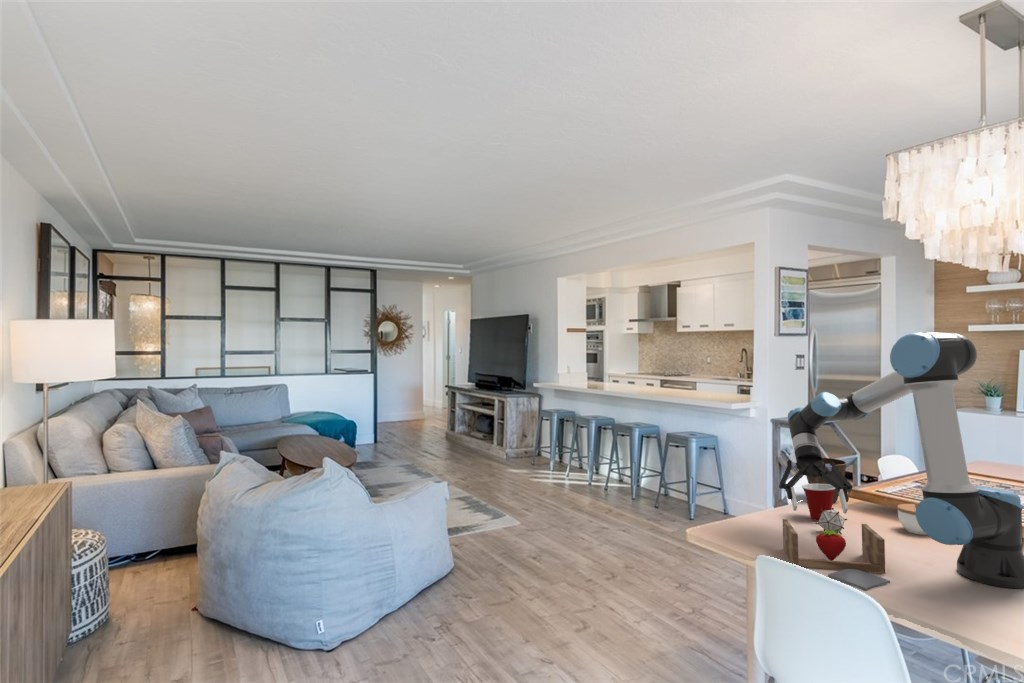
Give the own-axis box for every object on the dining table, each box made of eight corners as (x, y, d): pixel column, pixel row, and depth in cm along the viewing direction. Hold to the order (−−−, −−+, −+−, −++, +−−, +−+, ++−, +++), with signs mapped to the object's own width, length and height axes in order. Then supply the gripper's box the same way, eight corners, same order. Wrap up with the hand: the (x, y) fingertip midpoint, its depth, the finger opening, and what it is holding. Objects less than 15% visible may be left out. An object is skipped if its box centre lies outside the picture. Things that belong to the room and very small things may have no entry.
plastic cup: (808, 513, 206) (808, 480, 206) (841, 519, 198) (840, 485, 198) (797, 519, 198) (796, 485, 199) (830, 525, 190) (829, 490, 191)
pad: (890, 582, 144) (890, 580, 144) (866, 590, 139) (866, 588, 139) (852, 569, 153) (852, 567, 153) (828, 576, 148) (828, 574, 148)
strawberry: (848, 566, 155) (847, 529, 155) (817, 562, 158) (816, 527, 158) (844, 558, 161) (843, 523, 161) (815, 555, 164) (814, 521, 164)
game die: (838, 546, 181) (854, 527, 175) (811, 536, 183) (826, 516, 177) (835, 526, 188) (850, 506, 183) (809, 515, 190) (823, 496, 184)
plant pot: (850, 500, 222) (849, 459, 222) (844, 508, 211) (843, 466, 211) (808, 494, 232) (807, 455, 232) (800, 502, 220) (799, 461, 220)
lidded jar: (943, 532, 182) (943, 503, 182) (930, 539, 176) (929, 509, 176) (906, 524, 191) (905, 497, 191) (892, 530, 184) (891, 502, 185)
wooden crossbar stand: (783, 549, 169) (782, 519, 169) (867, 555, 163) (866, 524, 163) (793, 566, 156) (792, 533, 156) (885, 573, 150) (884, 539, 150)
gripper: (847, 458, 182) (864, 518, 167) (764, 455, 188) (773, 513, 174) (852, 444, 177) (870, 505, 162) (766, 442, 183) (776, 500, 169)
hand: (820, 509), depth 168 cm, fingers open, 13 cm apart
